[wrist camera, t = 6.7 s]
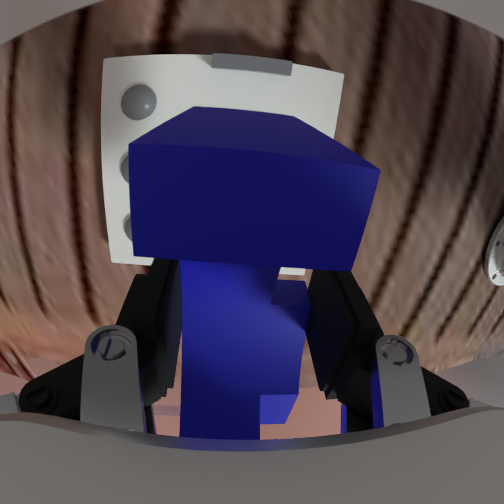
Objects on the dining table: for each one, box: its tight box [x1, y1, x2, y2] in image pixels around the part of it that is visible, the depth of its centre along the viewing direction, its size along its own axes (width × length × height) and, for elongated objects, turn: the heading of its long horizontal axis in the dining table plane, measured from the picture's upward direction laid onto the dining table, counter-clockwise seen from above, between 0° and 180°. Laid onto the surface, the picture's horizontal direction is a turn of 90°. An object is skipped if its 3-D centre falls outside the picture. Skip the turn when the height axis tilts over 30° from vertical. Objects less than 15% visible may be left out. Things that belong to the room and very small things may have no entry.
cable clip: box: [128, 106, 380, 440], centre depth 9 cm, size 12×4×6 cm, turn 173°
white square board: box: [101, 53, 344, 275], centre depth 22 cm, size 17×17×4 cm
